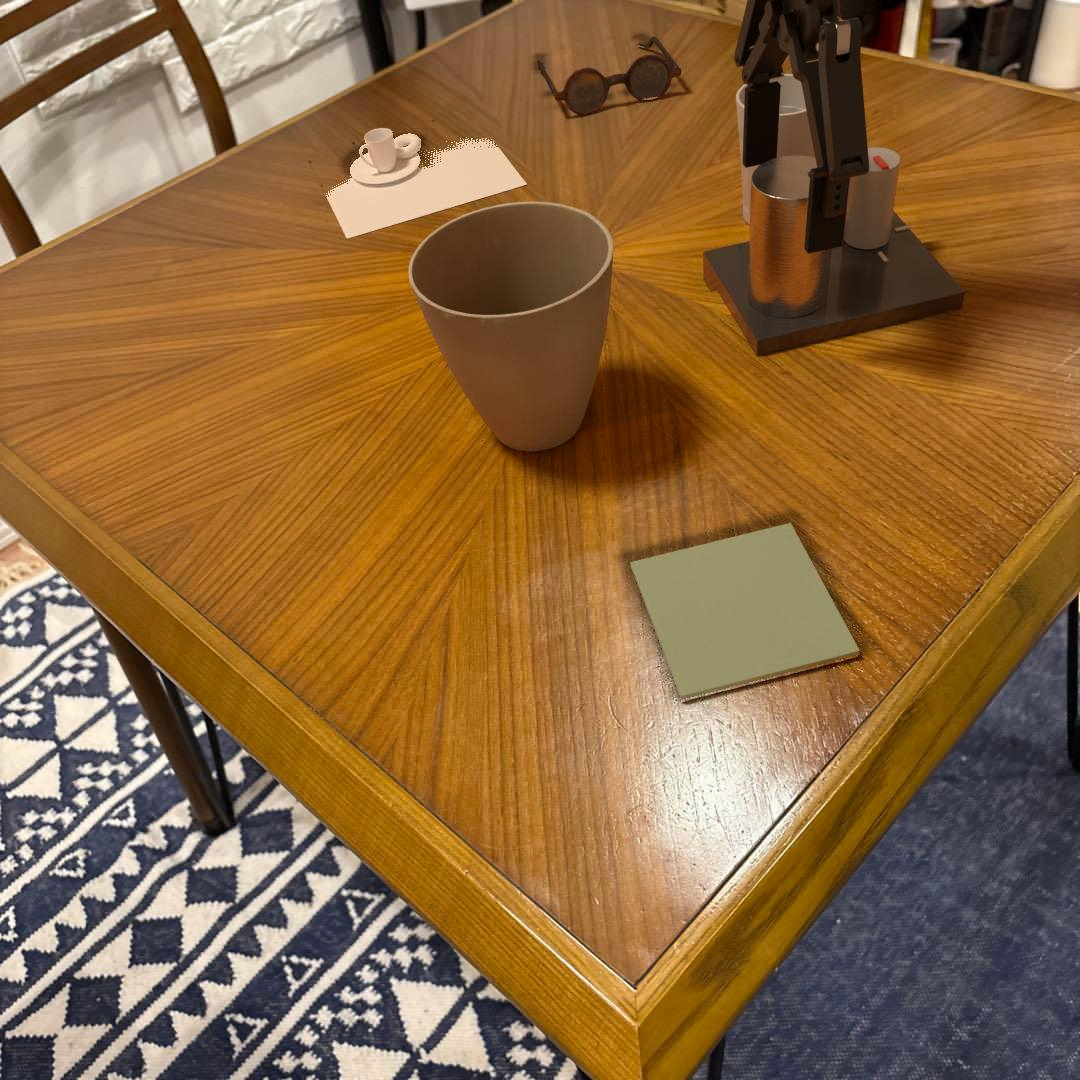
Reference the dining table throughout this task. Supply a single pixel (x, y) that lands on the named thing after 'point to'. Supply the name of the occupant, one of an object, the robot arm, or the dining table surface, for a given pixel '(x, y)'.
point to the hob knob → (872, 201)
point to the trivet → (741, 611)
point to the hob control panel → (841, 291)
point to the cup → (779, 130)
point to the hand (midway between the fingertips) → (789, 203)
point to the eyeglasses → (616, 81)
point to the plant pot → (519, 313)
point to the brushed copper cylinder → (784, 241)
